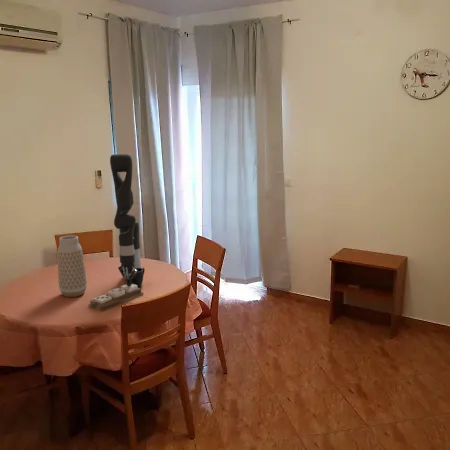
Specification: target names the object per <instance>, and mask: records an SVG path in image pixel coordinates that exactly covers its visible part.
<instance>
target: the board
mask: <svg viewBox="0 0 450 450" xmlns="http://www.w3.org/2000/svg"><path fill="white" fill-rule="evenodd" d="M105 295H106V296H108V293H107V294H105ZM141 296H144V292H142V288H141V287H140V288H138V289H137V290H135V291H132V292H130V293H126V292H125V295H122V296H120V297H117V298H112V300H110V301H107V302H105V303H102V304H101V303H98V302H95V301H94V299H92V300H89V303H88V307H89V308H92V309H95V310H98V311H100V312H101V311H102V312H105V311H107V310H109V309H112V308H115V307H116V306H117V307H118V306H119V305H121V304H124V303H127V302H130V301H131V300H134V299H136V298H139V297H141Z"/></svg>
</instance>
